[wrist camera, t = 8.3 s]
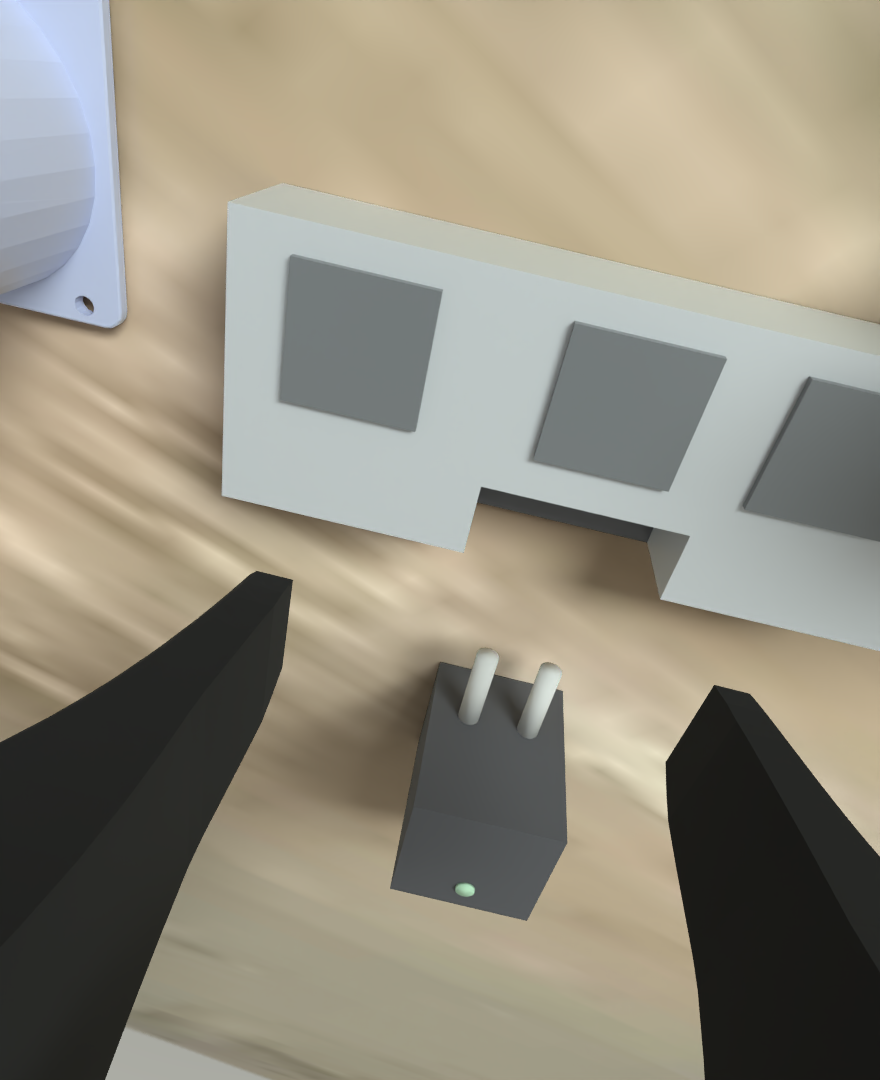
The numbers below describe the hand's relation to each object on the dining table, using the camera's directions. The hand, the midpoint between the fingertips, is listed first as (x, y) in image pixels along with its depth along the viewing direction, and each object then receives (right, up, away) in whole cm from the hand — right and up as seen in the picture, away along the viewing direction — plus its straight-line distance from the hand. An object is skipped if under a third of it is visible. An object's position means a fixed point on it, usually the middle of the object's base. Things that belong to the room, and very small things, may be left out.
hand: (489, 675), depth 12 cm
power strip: (+3, +6, +7) cm, 10 cm away
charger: (+1, -3, +14) cm, 14 cm away
